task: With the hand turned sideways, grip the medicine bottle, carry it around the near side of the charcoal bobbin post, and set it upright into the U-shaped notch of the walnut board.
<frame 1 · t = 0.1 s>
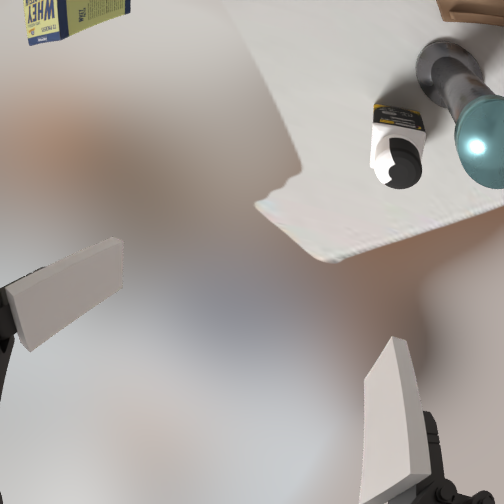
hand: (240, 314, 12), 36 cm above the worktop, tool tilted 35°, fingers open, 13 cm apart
medicine bottle: (395, 126, 35), on the worktop
bobbin post: (449, 75, 24), on the worktop
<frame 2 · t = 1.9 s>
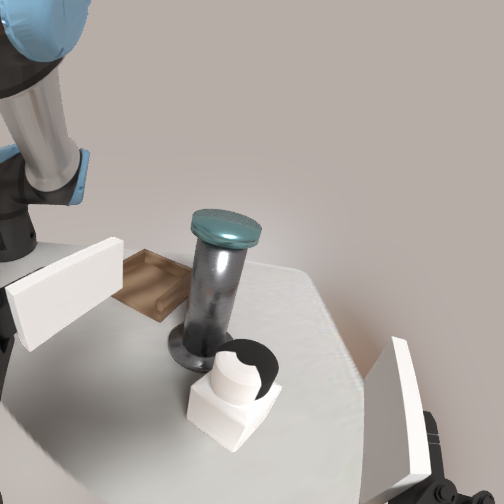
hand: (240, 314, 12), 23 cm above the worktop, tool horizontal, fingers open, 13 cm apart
notched board: (149, 287, 50), on the worktop
medicine bottle: (226, 420, 29), on the worktop
bobbin post: (201, 347, 40), on the worktop
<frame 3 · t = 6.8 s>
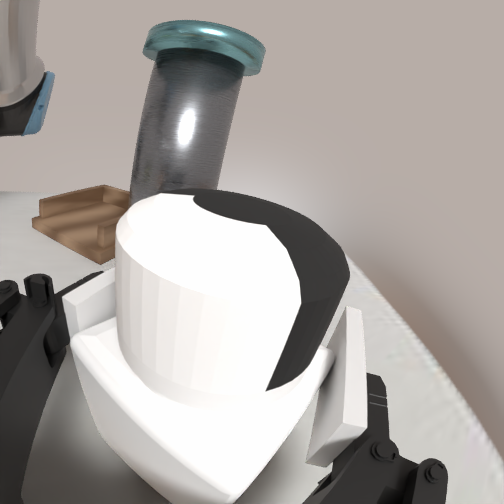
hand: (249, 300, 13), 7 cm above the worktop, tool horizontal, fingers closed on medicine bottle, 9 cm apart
notched board: (101, 227, 32), on the worktop
medicine bottle: (193, 444, 12), on the worktop, touching gripper
bobbin post: (160, 301, 22), on the worktop
when the fingers open (9 cm above the worktop, at t = 13.8 s): medicine bottle drops 1 cm, resting on notched board.
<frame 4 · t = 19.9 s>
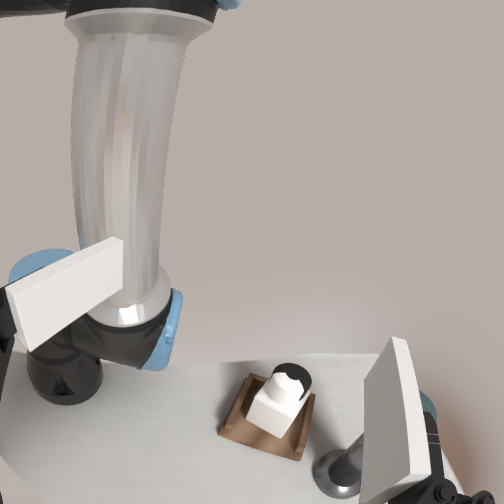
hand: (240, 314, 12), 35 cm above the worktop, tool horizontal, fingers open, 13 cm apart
notched board: (269, 419, 43), on the worktop
medicine bottle: (271, 417, 42), point 1 cm above the worktop, touching notched board
bobbin post: (341, 474, 33), on the worktop
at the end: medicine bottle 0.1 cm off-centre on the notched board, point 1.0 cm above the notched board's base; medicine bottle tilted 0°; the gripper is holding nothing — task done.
